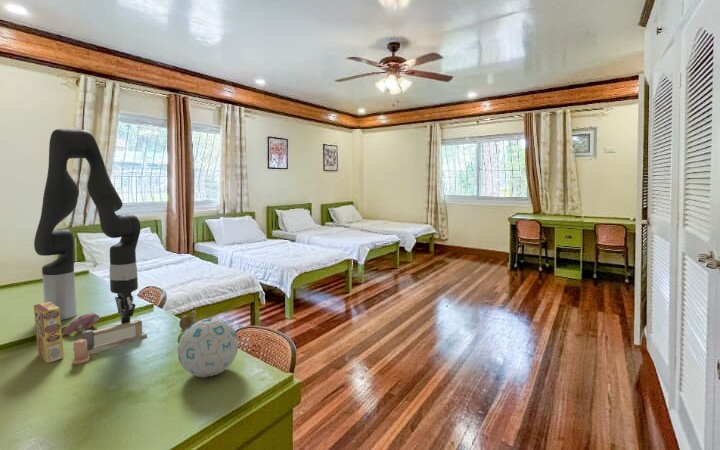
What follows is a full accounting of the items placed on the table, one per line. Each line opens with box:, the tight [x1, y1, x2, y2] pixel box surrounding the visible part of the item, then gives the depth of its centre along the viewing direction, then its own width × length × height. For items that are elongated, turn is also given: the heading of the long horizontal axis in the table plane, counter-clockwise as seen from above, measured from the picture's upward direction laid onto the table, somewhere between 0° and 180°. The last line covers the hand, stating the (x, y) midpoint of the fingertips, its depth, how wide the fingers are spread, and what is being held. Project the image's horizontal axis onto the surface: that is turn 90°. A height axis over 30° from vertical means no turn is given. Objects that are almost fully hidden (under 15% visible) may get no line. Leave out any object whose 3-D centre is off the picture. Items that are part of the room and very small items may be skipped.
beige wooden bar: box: [81, 319, 143, 350], centre depth 116 cm, size 16×3×5 cm, turn 140°
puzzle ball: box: [177, 317, 239, 378], centre depth 99 cm, size 15×15×15 cm
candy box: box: [33, 302, 65, 364], centre depth 107 cm, size 9×4×15 cm, turn 54°
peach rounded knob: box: [72, 339, 91, 366], centre depth 105 cm, size 4×4×6 cm
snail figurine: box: [177, 306, 197, 345], centre depth 116 cm, size 5×6×12 cm
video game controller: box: [62, 312, 100, 336], centre depth 127 cm, size 10×5×7 cm, turn 169°
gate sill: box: [87, 331, 148, 356], centre depth 117 cm, size 4×18×1 cm, turn 146°
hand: (126, 327), depth 121 cm, fingers closed
